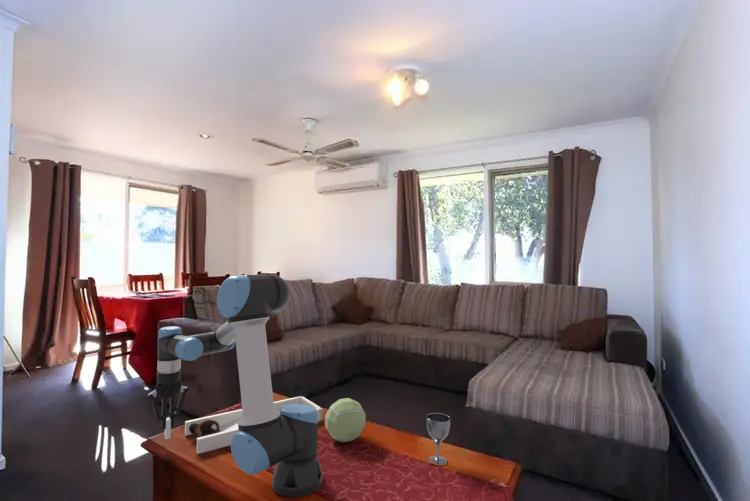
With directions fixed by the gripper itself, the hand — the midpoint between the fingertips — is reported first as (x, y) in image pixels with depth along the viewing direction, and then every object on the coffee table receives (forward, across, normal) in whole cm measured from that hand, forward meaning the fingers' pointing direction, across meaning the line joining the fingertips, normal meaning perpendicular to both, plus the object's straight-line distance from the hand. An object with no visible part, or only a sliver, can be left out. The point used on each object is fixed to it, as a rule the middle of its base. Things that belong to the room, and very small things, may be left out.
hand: (167, 437), depth 142 cm
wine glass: (+5, -73, +62) cm, 96 cm away
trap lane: (+6, -33, 0) cm, 34 cm away
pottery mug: (+5, -13, -1) cm, 14 cm away
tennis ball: (+5, -56, +30) cm, 64 cm away
